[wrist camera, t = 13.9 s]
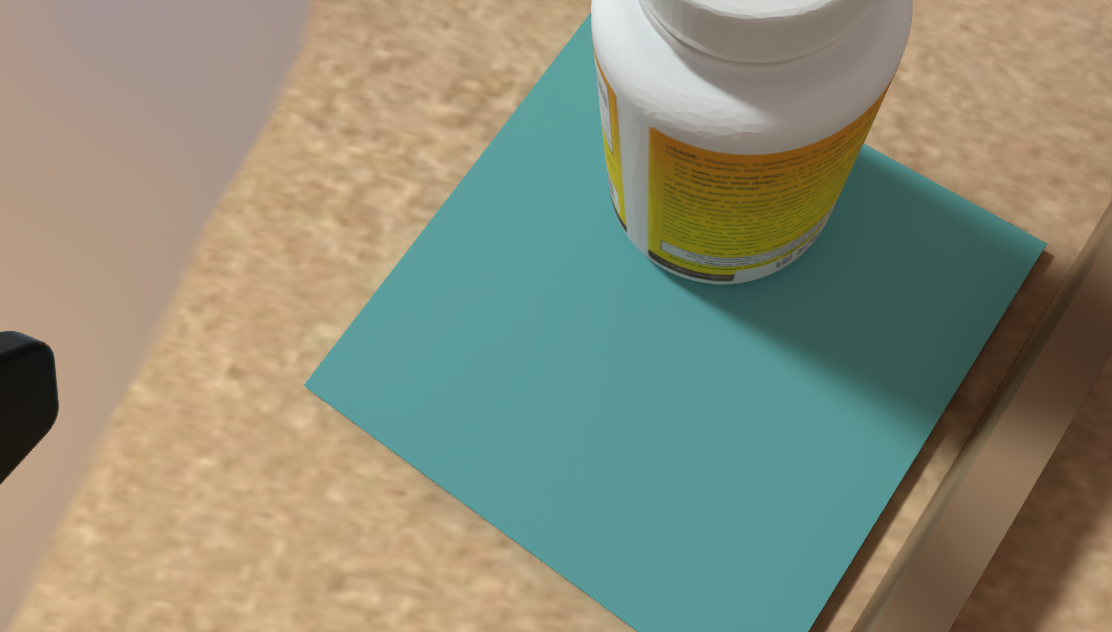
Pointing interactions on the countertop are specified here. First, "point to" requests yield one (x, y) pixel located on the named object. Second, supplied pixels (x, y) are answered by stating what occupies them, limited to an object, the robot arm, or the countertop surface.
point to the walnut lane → (1002, 453)
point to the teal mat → (671, 372)
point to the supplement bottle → (737, 122)
